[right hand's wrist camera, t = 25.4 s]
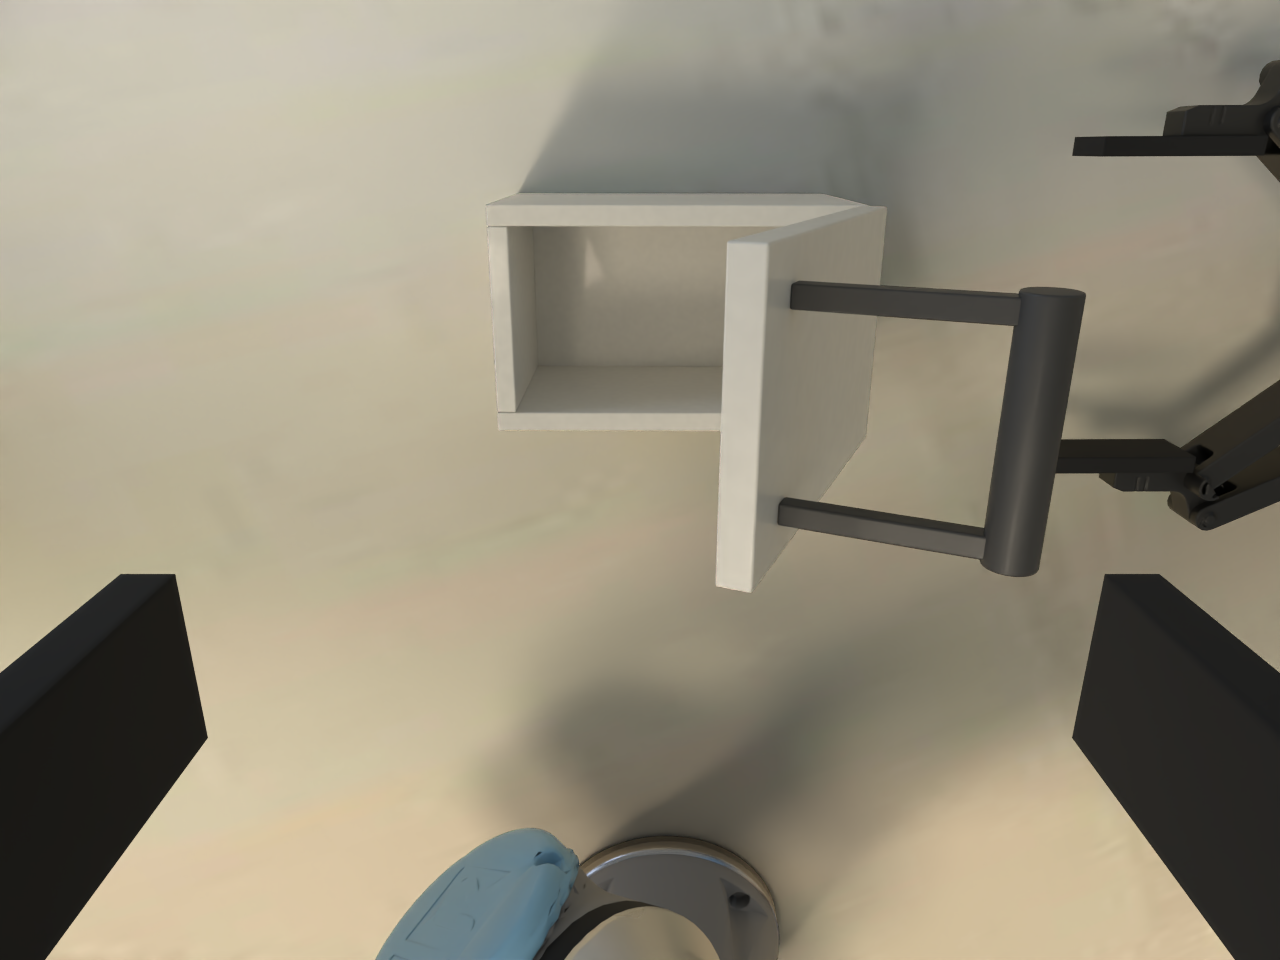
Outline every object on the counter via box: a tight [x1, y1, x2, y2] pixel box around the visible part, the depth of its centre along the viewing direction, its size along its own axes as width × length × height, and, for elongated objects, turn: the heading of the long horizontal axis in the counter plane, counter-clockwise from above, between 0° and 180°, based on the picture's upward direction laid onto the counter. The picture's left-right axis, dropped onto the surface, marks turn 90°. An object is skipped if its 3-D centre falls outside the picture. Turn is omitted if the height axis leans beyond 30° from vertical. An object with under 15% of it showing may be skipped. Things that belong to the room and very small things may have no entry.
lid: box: [715, 206, 1086, 593], centre depth 29 cm, size 16×10×8 cm
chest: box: [486, 193, 869, 431], centre depth 42 cm, size 15×10×10 cm, turn 90°
